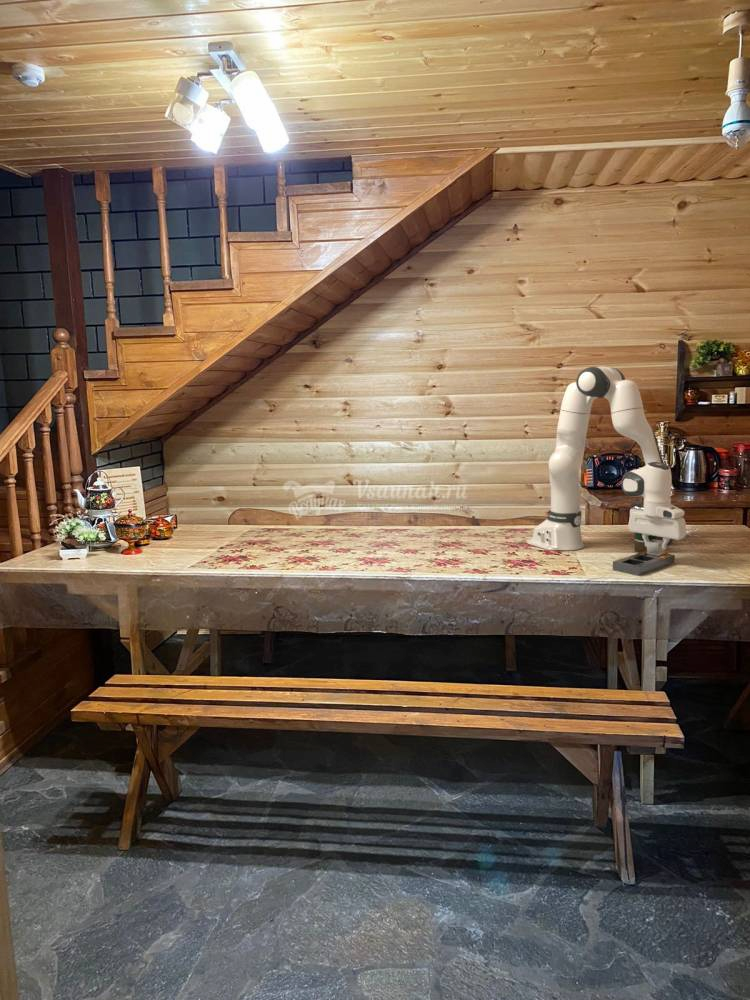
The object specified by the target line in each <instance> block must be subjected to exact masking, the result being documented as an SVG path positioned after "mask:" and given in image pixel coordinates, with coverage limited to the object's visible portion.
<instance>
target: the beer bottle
mask: <svg viewBox="0 0 750 1000" xmlns="http://www.w3.org/2000/svg"><path fill="white" fill-rule="evenodd" d="M641 502H642V503H641V507H644V497H642V496H641ZM648 539H649V541H650V540H653V539H654V540H656V536H653V535H649V536H648ZM633 545H634V546H633V548H634V550H633V551H634V552H635V553H637V552H638V553H640V552H643V551H647V547H646V546H645V541H644V539H643V537H642V534H641V533H636V532H634V544H633ZM638 553H637V554H638Z"/></svg>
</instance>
